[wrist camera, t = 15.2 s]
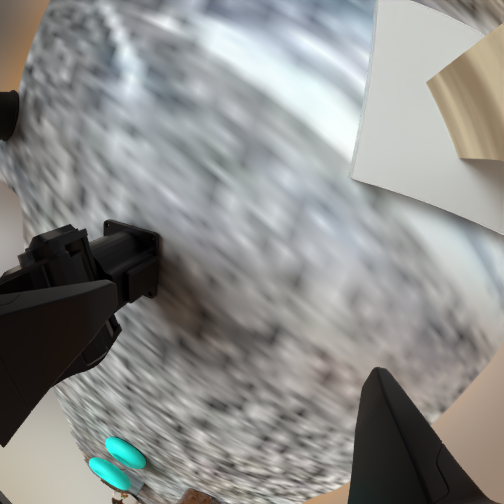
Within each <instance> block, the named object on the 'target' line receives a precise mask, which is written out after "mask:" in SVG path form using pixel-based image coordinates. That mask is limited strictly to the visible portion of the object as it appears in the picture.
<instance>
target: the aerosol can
mask: <svg viewBox="0 0 504 504" xmlns="http://www.w3.org/2000/svg"><path fill="white" fill-rule="evenodd" d="M18 110H19V98H18V94H17V92H16V91H15V90H12V91H10V92H0V140H3V141H6V140H8V139H9V138H10V136H11V135H12V133H13V131H14V128H15V125H16V121H17V116H18Z"/></svg>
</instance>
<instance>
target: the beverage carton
mask: <svg viewBox="0 0 504 504" xmlns="http://www.w3.org/2000/svg"><path fill="white" fill-rule="evenodd" d="M120 470H121V471H122V472H123V473H125V474H126V475H127V477H128V478H129V479H130V482H131V488H130V489H128V490H121V489H119V488H117V487H115V486H113V485H111V484H110V483H108V482H107V481H105V480H104V479H102V478H101V481H102V482H103V483H105V484H106V485H107V486H109V487H110V488H112V489H113V490H115V491H116V492H119V493H125V494H131V495H136V496H137V495H138V493H139V492H140V490H141V489H142V487H143V485H144V482H143V481H141V480H140V479H138V478H137V477H135V476H134V475H132V474H131V473H130V472H128V471H127V470H125V469H120Z"/></svg>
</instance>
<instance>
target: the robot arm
mask: <svg viewBox="0 0 504 504" xmlns="http://www.w3.org/2000/svg"><path fill="white" fill-rule="evenodd" d="M108 224H109V226H108ZM87 235H88V234H87V230H86V228H85V229H82V230H78V228H77V229H75V228H74V227H73V226H72V225H71V224H69V225H66V226H63V227H61V228H58V229H55V230H52V231H49V232H46V233H43V234H40V235H38V236H35V237H33V238H32V241H31V243H30V245H29V247H28V248H26V249H25V252H24V253H22V254H20V255H18V259H19V262H20V265H18V266H16V267H14V268H12V269H10V270H8V271H6V272H4V274H3V275H2V276H1V277H0V445H1V446H2V447H5V446H6V445H7V443H8V442H9V441H10V439H11V437H12V436H13V435H14V434H15V432H16V431H17V430H18V428H19V427H20V426H21V425H22V423H23V422H24V421H25V419H26V418H27V417H28V415H29V414H30V413H31V411H32V410H33V409H34V408H35V406H36V405H37V404H38V403H39V401H40V400H41V399H42V398H43V396H44V395H45V394H46V393H47V392H48V390H49V389H50V388H51V387H53V386H54V385H56V384H58V383H59V382H61V381H62V380H64V379H66V378H68V377H70V376H72V375H75V374H77V373H81V372H85V371H87V370H90V369H92V368H94V367H95V366H97V365H98V364H99V363H100V362H101V361H102V360H103V359H104V358H105V356H106V355H107V353H108V351H109V350H110V348H111V347H112V345H113V343H114V342H115V340H116V339H117V337H118V336H119V334H120V332H121V331H122V329H121V326H120V324H118V322H117V320H116V317H115V315H114V313H115V312H117V311H118V310H119V309H121V308H122V307H123V306H124V305H126V304H127V303H133V302H134V301H136V300H137V299H138V298H140V297H141V296H142V295H144V296H146V297H149V298H154V297H155V296H156V295H157V284H158V265H159V259H158V247H159V237H158V235H157V233H155V232H151V231H148V230H144V229H141V228H138V227H134V226H131V225H127V224H124V223H120V222H117V221H113V220H109V219H108V220H106V221H104V236H103V237H101V238H99V239H96V240H94V241H92V242H89V241H88V238H87ZM152 237H153V238H154V240H153V239H152ZM151 292H152V294H151ZM0 504H12V503H11V502H10V501H9V500H8V499H7V498H6V497H5V495H4V494H3V493H2V492H1V491H0ZM348 504H500V503H496V502H494V501H492V500H490V499H489V498H488V497H487V496H486V495H485V494H484V493H483V492H482V491H481V490H480V489H479V487H478V486H477V485H476V484H475V483H474V482H473V480H472V479H471V478H470V477H469V476H468V475H467V473H466V472H465V471H464V470H463V469H462V467H460V465H459V464H458V463H457V461H456V460H455V459H454V457H453V456H452V455H451V453H450V452H449V451H448V449H447V448H446V447H445V445H444V444H442V441H441V440H440V438H439V437H438V436H437V434H436V433H435V431H434V430H433V429H432V427H431V426H430V425H429V423H428V422H427V421H426V419H425V418H424V416H423V415H422V414H421V412H420V411H419V410H418V408H417V407H416V406H415V405H414V403H413V402H412V401H411V399H410V398H409V397H408V395H407V394H406V393H405V391H404V390H403V389H402V387H401V386H400V385H399V384H398V382H397V381H396V380H395V378H394V377H393V376H392V375H391V373H390V372H389V371H388V370H387V369H385V368H380V367H375V368H374V369H373V370H372V371H371V373H370V375H369V376H368V378H367V380H366V381H365V383H364V385H363V387H362V391H361V398H360V404H359V411H358V417H357V423H356V429H355V439H354V453H353V464H352V474H351V483H350V490H349V498H348Z"/></svg>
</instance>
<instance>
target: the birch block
mask: <svg viewBox="0 0 504 504" xmlns="http://www.w3.org/2000/svg"><path fill="white" fill-rule="evenodd" d="M426 84H427V86H428V88H429V90H430V92H431V94H432V96H433V98H434V100H435V102H436V104H437V106H438V108H439V110H440V113H441V115H442V117H443V119H444V122H445V124H446V126H447V129H448V131H449V134H450V136H451V139H452V141H453V144H454V147H455V150H456V152H457V155H458V158H471V159H491V160H504V23H503V24H501V25H500V26H499V27H497V28H496V29H494V30H493V31H492V32H490V33H489V34H488V35H486V36H485V37H484V38H482V39H481V40H480V41H478V42H477V43H476V44H475V45H473V46H472V47H471V48H469V49H468V50H467V51H465V52H464V53H463V54H461V55H460V56H459V57H458V58H456V59H455V60H454V61H452V62H451V63H450V64H449V65H447V66H446V67H445V68H443V69H442V70H441V71H440V72H438V73H437V74H436V75H435V76H433V77H432V78H431V79H430V80H428V81H427V82H426Z"/></svg>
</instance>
